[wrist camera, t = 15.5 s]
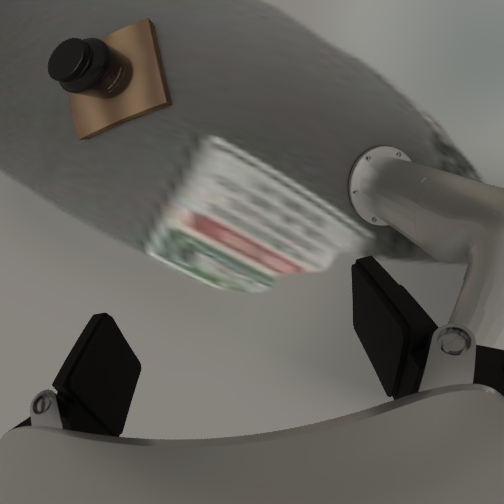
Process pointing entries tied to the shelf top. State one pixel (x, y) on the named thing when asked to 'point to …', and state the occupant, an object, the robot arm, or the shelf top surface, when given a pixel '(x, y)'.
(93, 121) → the wavy wooden tray
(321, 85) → the shelf top surface
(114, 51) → the supplement bottle
